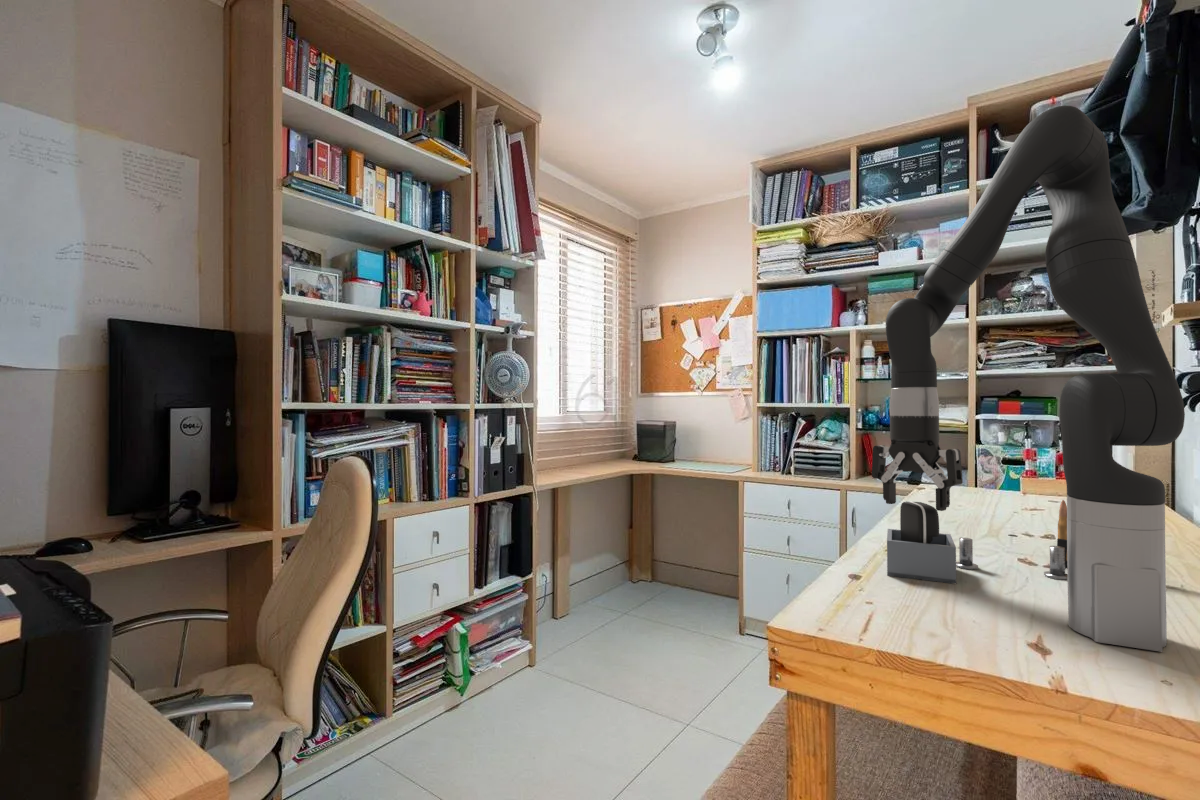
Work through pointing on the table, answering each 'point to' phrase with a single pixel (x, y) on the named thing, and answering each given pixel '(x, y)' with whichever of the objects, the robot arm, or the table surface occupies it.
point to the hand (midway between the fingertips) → (915, 506)
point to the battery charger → (918, 522)
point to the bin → (921, 558)
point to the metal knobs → (1055, 572)
